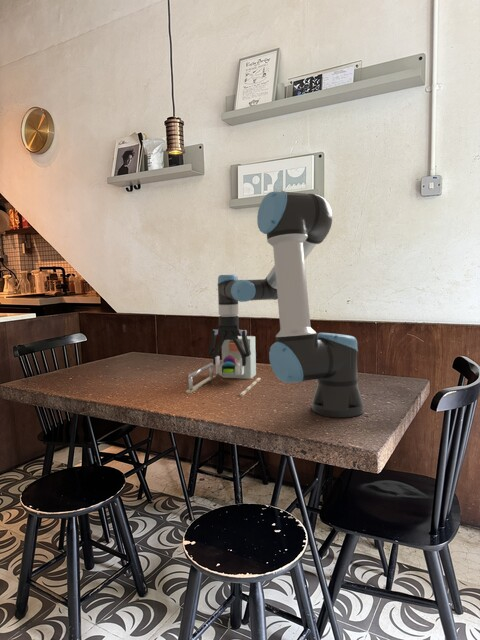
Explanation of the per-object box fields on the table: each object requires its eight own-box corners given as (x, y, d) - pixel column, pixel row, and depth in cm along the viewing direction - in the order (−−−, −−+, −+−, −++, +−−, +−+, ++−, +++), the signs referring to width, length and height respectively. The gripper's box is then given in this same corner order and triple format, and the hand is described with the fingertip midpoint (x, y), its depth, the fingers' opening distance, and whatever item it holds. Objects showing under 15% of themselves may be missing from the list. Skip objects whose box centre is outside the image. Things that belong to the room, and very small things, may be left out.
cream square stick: (242, 396, 151) (242, 394, 151) (239, 395, 151) (239, 394, 151) (260, 379, 174) (260, 377, 174) (258, 379, 175) (258, 377, 175)
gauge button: (238, 351, 173) (238, 343, 173) (229, 350, 174) (228, 343, 174) (241, 349, 176) (240, 342, 176) (231, 349, 177) (231, 342, 177)
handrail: (191, 393, 156) (190, 375, 156) (186, 392, 157) (185, 375, 156) (215, 377, 180) (215, 362, 179) (210, 377, 181) (210, 361, 180)
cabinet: (250, 379, 175) (249, 339, 174) (222, 377, 179) (221, 338, 177) (256, 374, 183) (255, 336, 182) (228, 373, 187) (227, 335, 185)
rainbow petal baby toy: (242, 371, 174) (241, 353, 173) (239, 377, 164) (238, 358, 163) (220, 371, 175) (220, 353, 174) (216, 377, 165) (216, 358, 164)
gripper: (258, 314, 168) (259, 372, 170) (205, 314, 174) (206, 370, 176) (253, 316, 160) (254, 377, 163) (198, 316, 167) (199, 374, 169)
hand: (229, 373), depth 170 cm, fingers closed on rainbow petal baby toy, 9 cm apart
